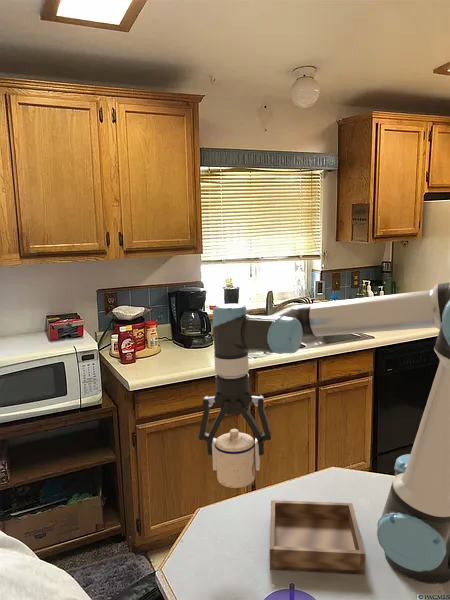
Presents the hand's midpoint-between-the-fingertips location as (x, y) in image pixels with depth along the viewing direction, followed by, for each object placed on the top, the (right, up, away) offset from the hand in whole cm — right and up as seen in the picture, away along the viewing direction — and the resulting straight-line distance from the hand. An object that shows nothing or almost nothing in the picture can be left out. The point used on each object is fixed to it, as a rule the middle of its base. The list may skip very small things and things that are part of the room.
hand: (236, 467), depth 108 cm
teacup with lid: (-1, -2, 0) cm, 2 cm away
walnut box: (+18, -18, +1) cm, 26 cm away
